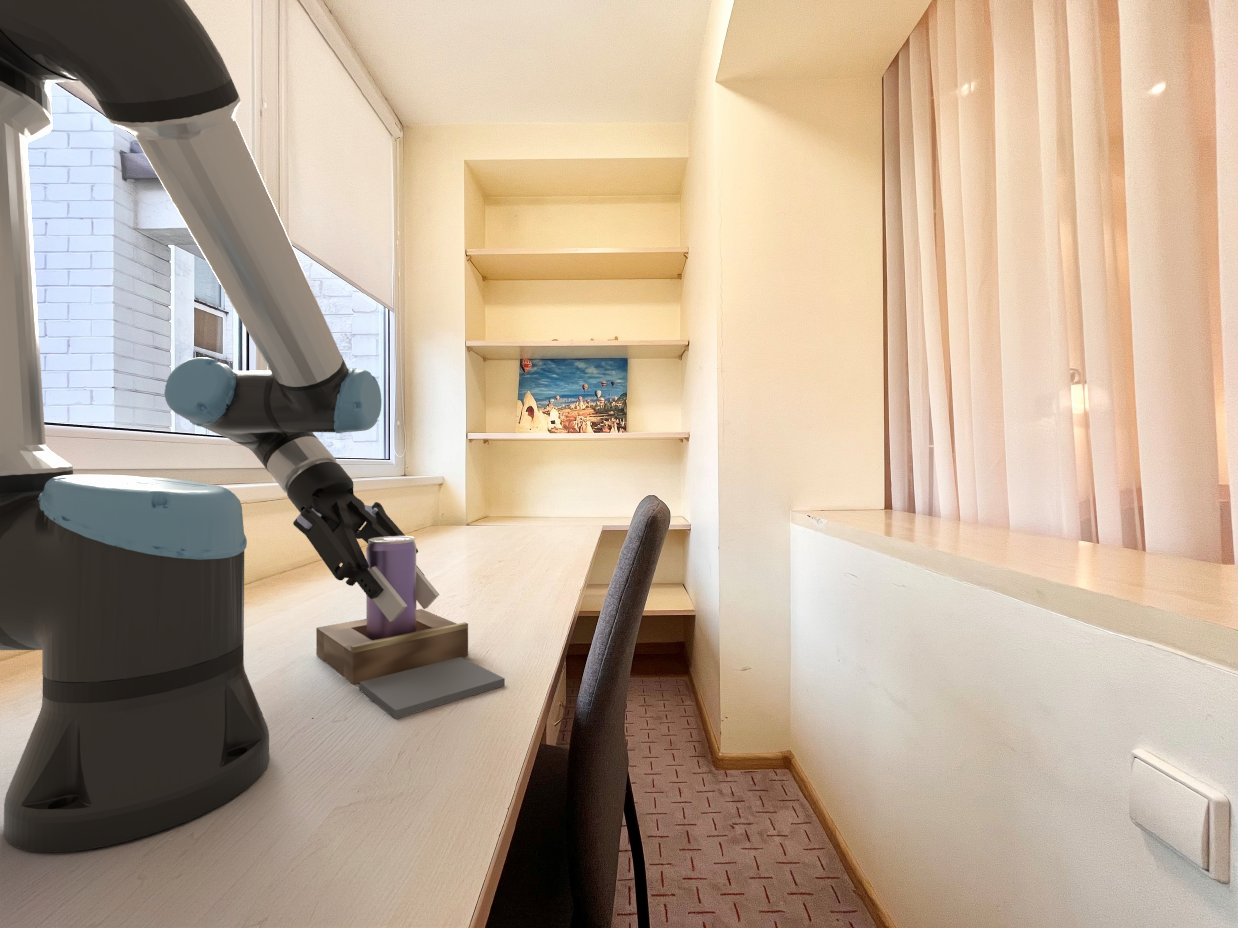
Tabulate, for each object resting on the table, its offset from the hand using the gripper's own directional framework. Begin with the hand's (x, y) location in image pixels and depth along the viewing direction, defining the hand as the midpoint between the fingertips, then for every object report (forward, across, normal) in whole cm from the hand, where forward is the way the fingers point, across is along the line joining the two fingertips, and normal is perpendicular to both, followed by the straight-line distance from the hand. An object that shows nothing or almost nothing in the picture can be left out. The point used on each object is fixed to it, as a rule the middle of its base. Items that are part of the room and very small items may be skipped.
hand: (415, 607), depth 72 cm
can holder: (+2, 0, -7) cm, 7 cm away
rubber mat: (+10, +8, +1) cm, 13 cm away
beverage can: (+2, 0, -7) cm, 7 cm away
